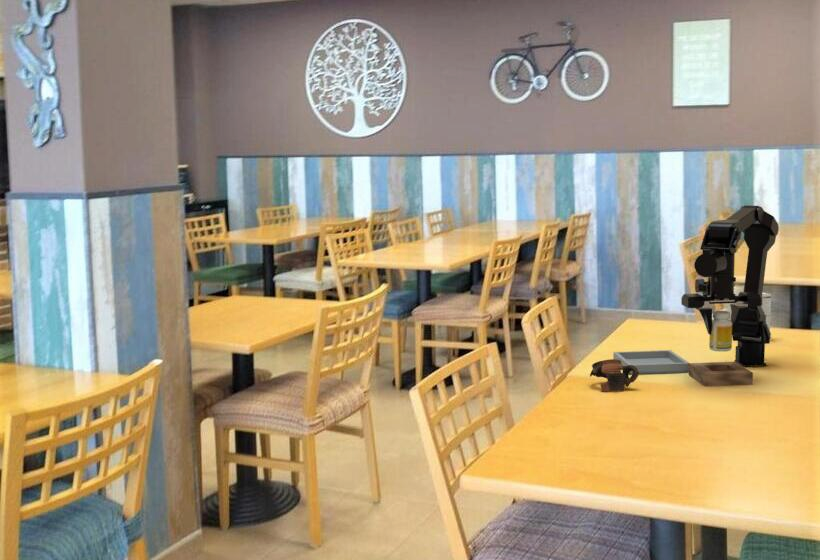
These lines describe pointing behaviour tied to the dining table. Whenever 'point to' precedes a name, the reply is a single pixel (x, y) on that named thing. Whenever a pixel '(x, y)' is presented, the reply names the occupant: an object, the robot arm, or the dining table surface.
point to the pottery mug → (614, 374)
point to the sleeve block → (720, 373)
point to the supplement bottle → (721, 332)
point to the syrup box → (766, 307)
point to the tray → (653, 361)
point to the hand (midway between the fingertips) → (720, 333)
